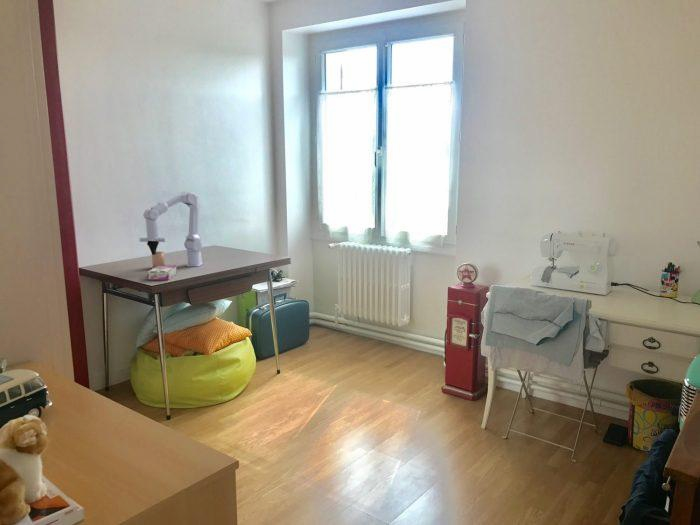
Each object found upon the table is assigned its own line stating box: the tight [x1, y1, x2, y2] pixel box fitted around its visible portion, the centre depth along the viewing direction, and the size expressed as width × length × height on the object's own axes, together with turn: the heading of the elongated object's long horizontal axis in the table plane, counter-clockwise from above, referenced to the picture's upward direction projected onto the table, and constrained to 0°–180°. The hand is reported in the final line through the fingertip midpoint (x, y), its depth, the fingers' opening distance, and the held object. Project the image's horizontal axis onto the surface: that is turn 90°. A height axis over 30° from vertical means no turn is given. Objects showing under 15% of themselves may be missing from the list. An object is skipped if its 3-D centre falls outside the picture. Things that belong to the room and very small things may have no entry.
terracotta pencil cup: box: [151, 251, 166, 268], centre depth 331 cm, size 7×7×9 cm
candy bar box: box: [147, 264, 177, 281], centre depth 306 cm, size 11×5×16 cm
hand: (153, 254), depth 317 cm, fingers closed
